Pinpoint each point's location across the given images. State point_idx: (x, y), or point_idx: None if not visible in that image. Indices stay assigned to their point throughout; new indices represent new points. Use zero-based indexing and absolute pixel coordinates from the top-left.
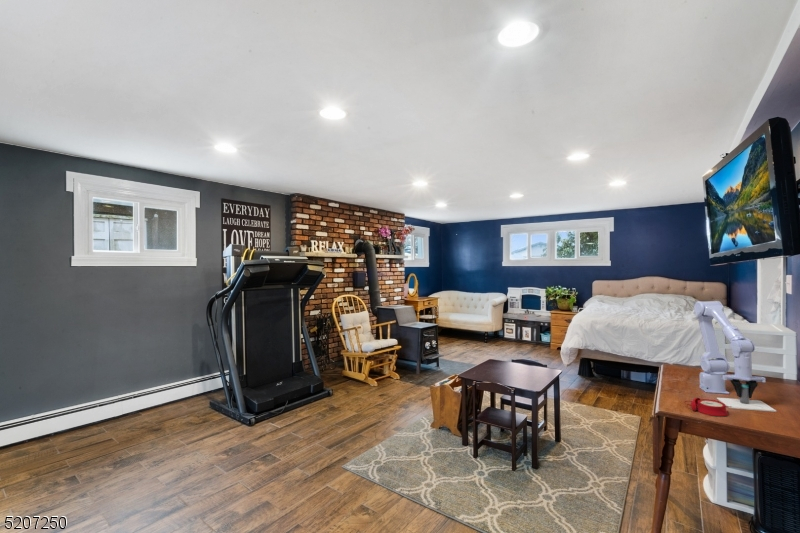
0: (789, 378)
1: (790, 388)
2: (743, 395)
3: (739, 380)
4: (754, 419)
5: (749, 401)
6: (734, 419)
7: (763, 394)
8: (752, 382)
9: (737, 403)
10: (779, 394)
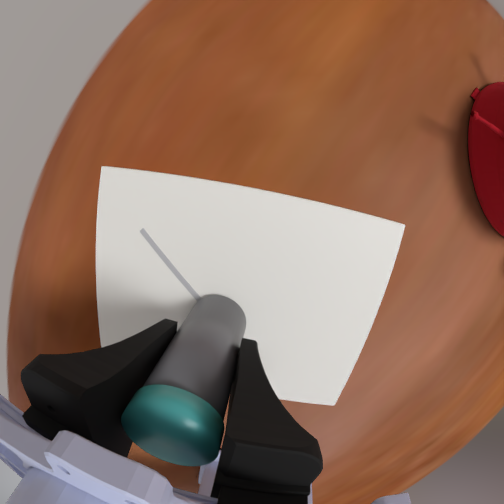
0: None
1: None
2: (223, 340)
3: (207, 497)
4: (361, 12)
5: None
6: (467, 38)
7: None
8: (64, 416)
9: (280, 308)
10: None
